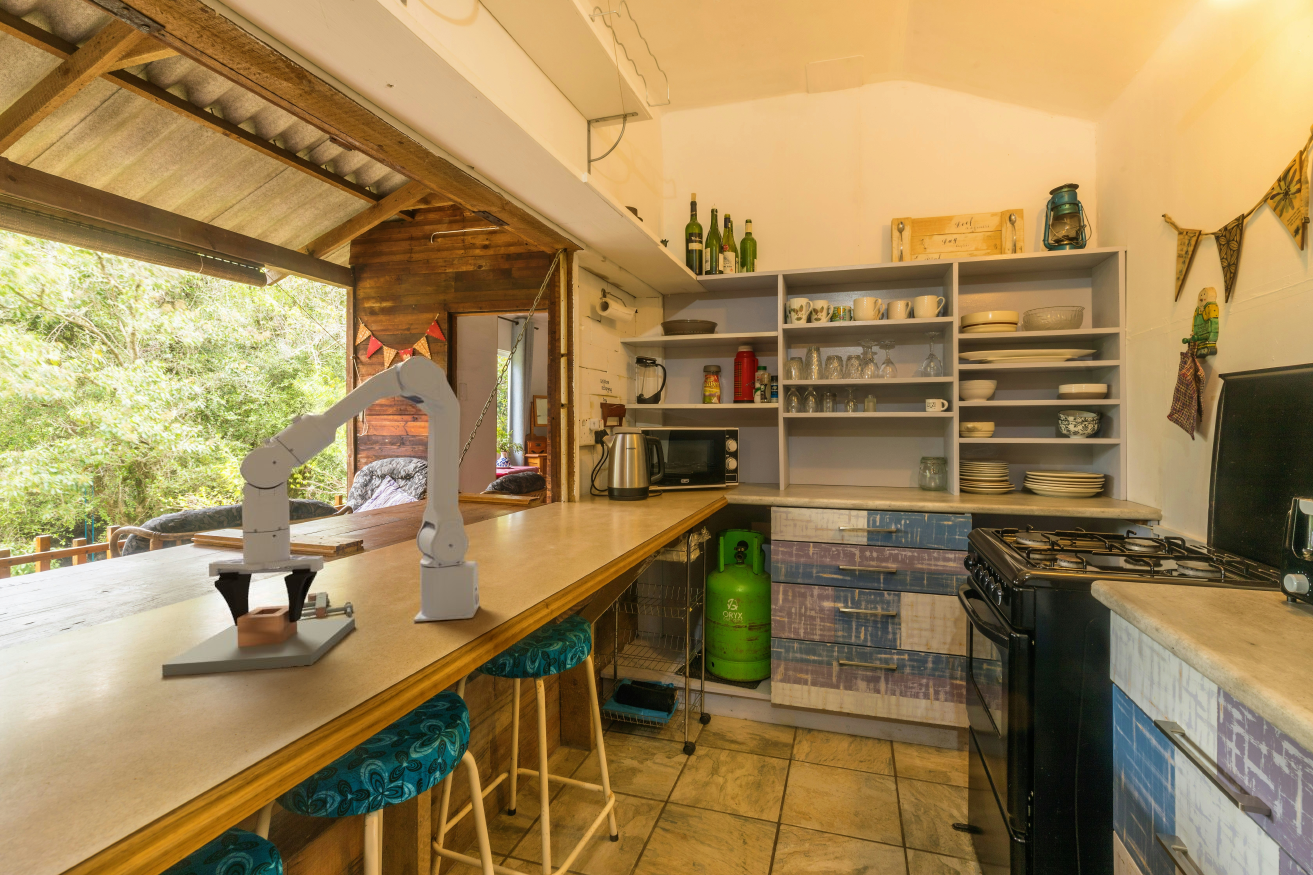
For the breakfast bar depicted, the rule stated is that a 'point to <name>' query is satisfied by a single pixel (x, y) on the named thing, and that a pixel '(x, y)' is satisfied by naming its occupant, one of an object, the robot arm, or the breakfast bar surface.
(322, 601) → the clamp
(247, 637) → the collar block
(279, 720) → the breakfast bar surface
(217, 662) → the pin board
